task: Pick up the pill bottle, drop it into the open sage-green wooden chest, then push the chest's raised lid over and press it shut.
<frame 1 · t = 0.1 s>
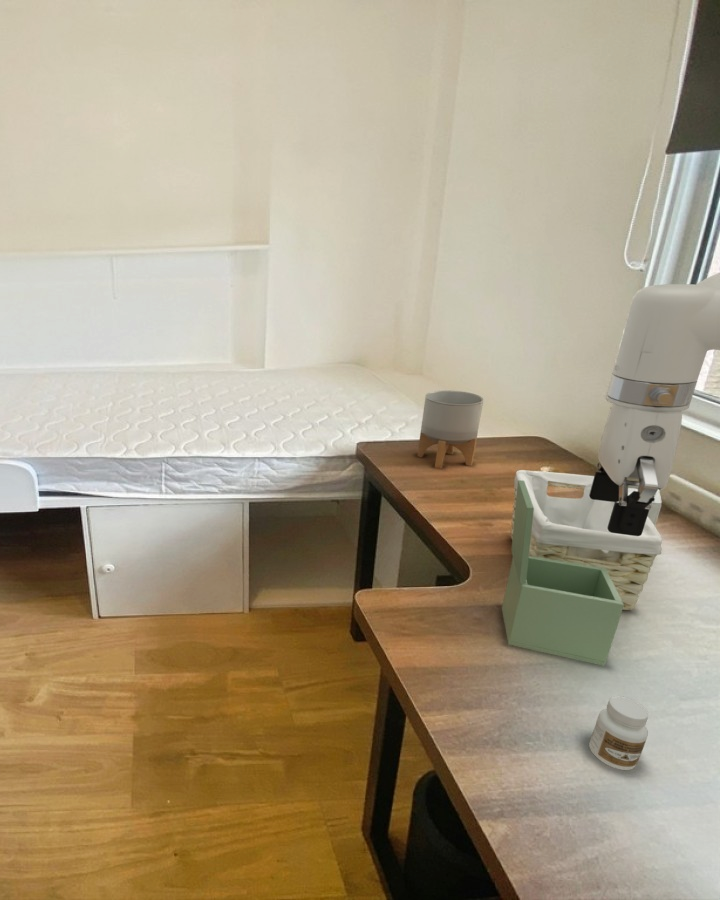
hand: (613, 515, 73), 24 cm above the table, tool pointing down, fingers open, 9 cm apart
basket: (562, 571, 101), on the table
chest: (549, 635, 86), on the table
lid: (521, 530, 83), point 17 cm above the table, hinge at 95.0°
pill bottle: (611, 756, 67), on the table
planter: (443, 461, 149), on the table
ink box: (626, 548, 106), on the table
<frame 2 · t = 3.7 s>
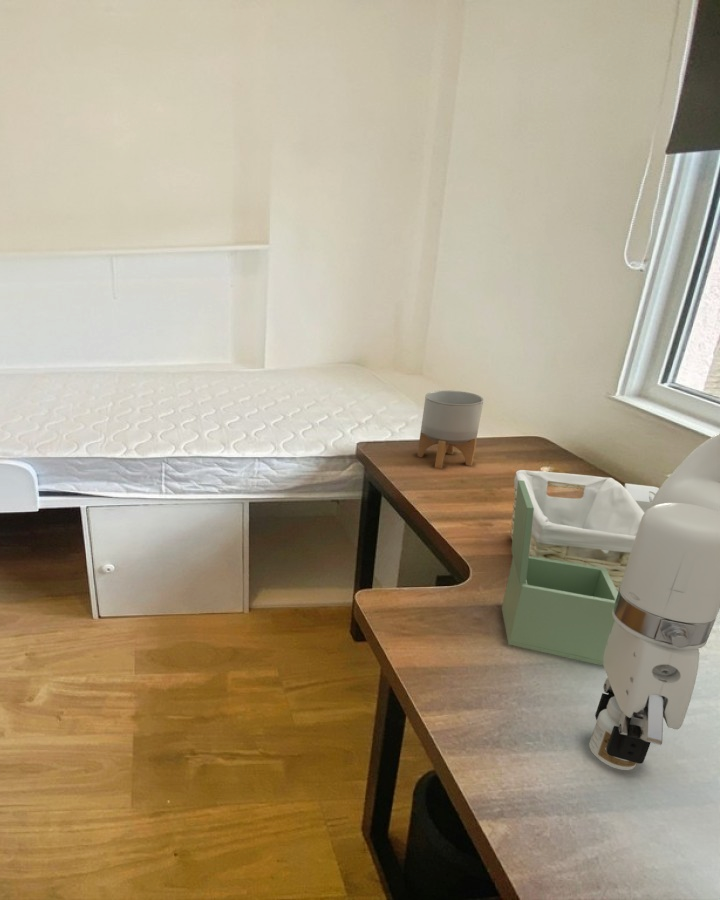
hand: (617, 738, 66), 3 cm above the table, tool pointing down, fingers closed on pill bottle, 4 cm apart
pill bottle: (611, 756, 67), on the table, touching gripper
everything else where it was.
when the fingers open (12 cm above the table, at t = 10.0 s): pill bottle drops 8 cm, resting on chest.
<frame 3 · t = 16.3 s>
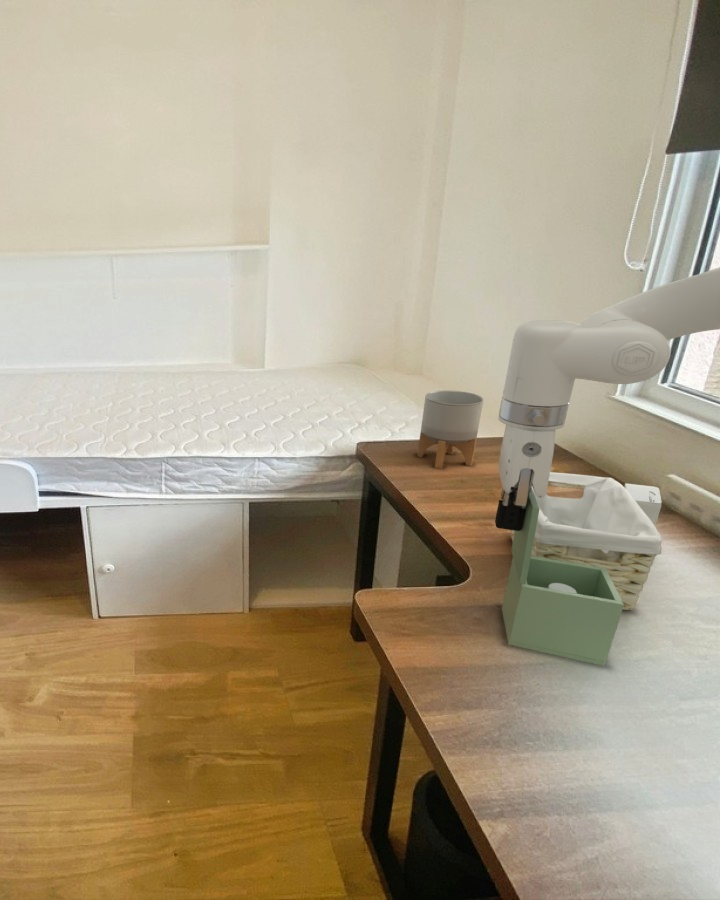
hand: (507, 526, 83), 18 cm above the table, tool pointing down, fingers closed
lid: (524, 531, 83), point 17 cm above the table, hinge at 92.0°, touching gripper
pill bottle: (551, 631, 86), point 1 cm above the table, touching chest
everything else where it was.
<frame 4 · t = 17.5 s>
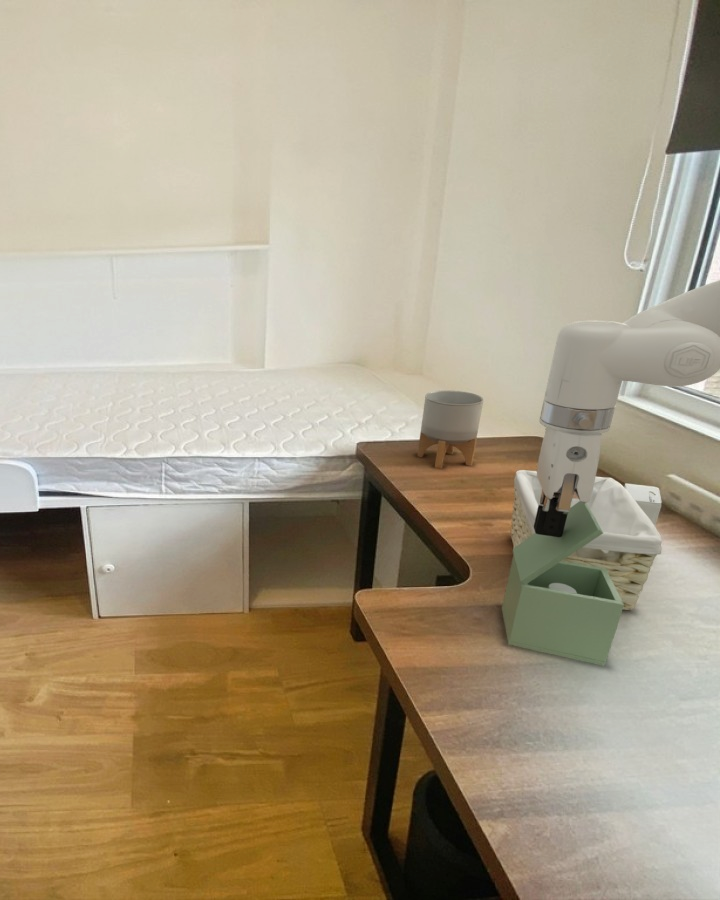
hand: (547, 532, 81), 18 cm above the table, tool pointing down, fingers closed
lid: (553, 541, 81), point 16 cm above the table, hinge at 55.5°
everything else where it was.
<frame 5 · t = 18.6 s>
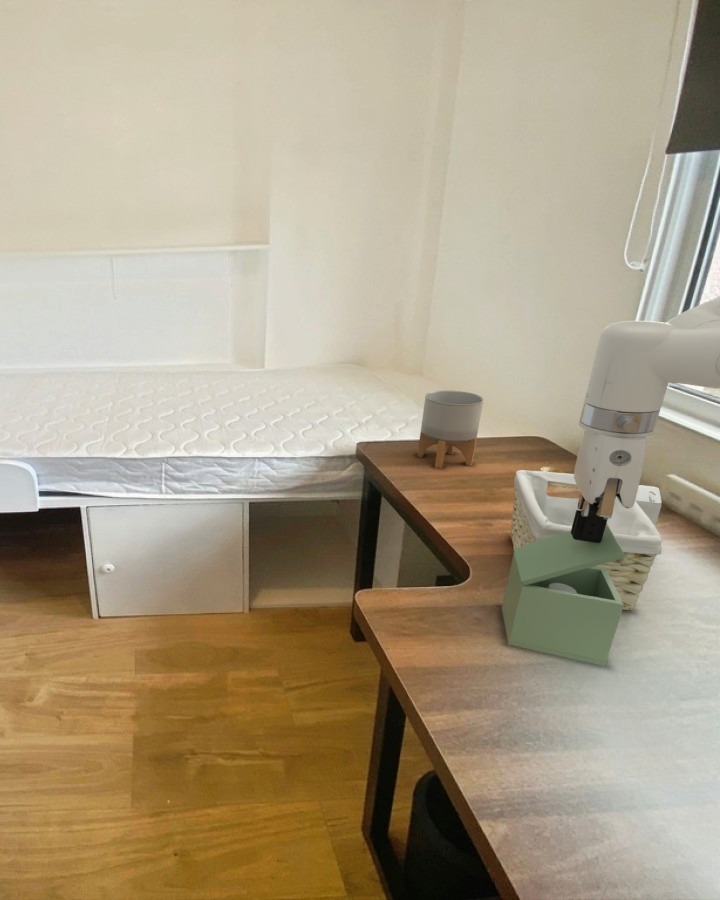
hand: (585, 538, 79), 18 cm above the table, tool pointing down, fingers closed
lid: (564, 552, 81), point 15 cm above the table, hinge at 35.5°
everything else where it was.
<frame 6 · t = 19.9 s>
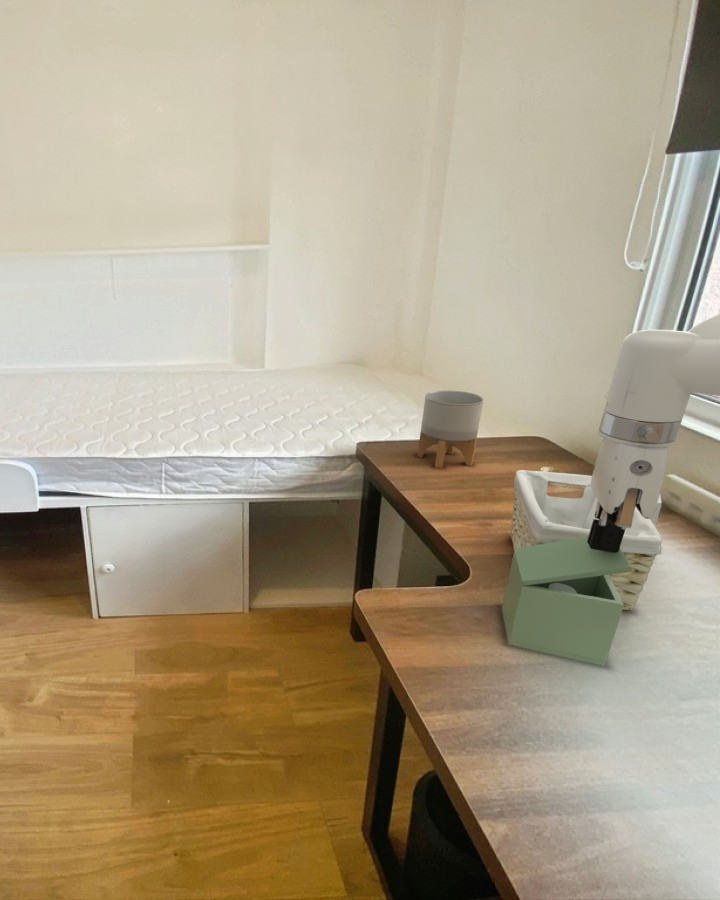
hand: (602, 547, 79), 17 cm above the table, tool pointing down, fingers closed
lid: (567, 559, 81), point 14 cm above the table, hinge at 25.0°, touching gripper
everything else where it was.
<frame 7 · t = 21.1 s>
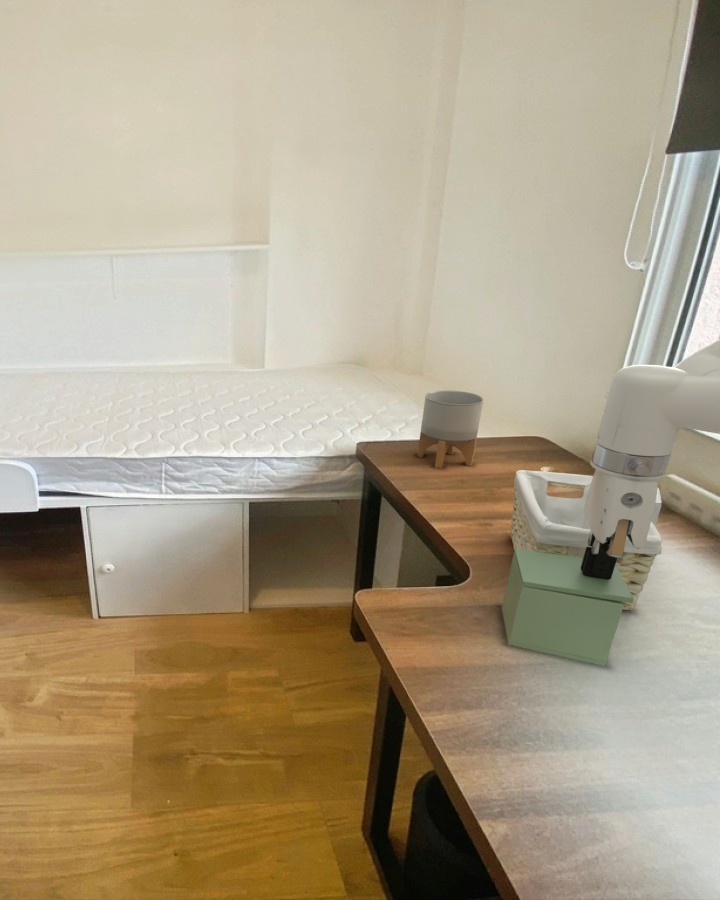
hand: (595, 574, 80), 12 cm above the table, tool pointing down, fingers closed
lid: (569, 573, 82), point 11 cm above the table, hinge at 1.9°
everything else where it was.
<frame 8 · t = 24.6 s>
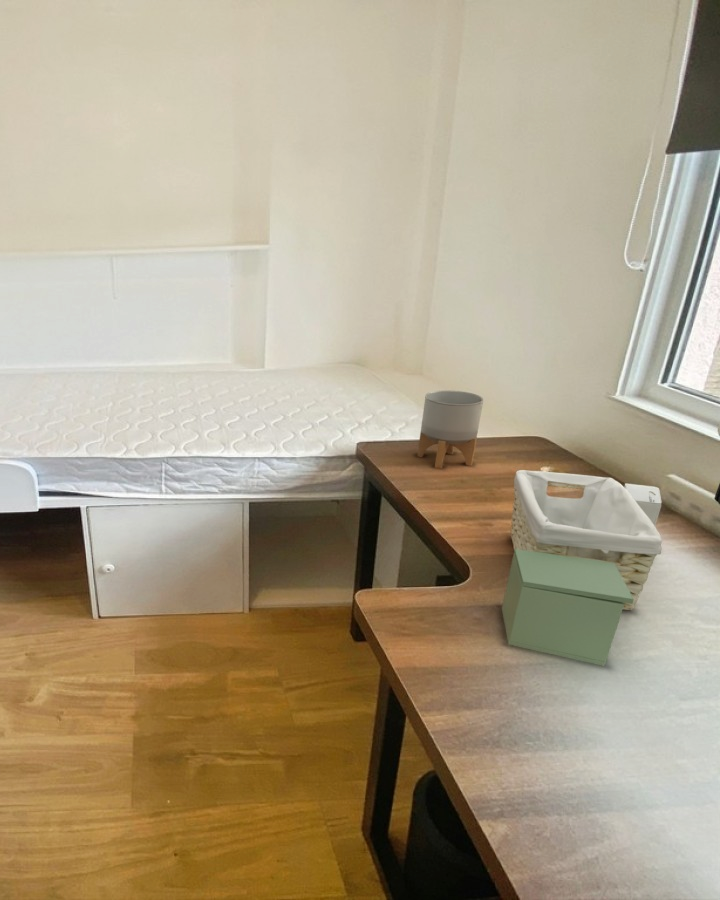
lid: (568, 574, 82), point 11 cm above the table, hinge at 1.4°
everything else where it was.
at the end: pill bottle inside the target area in the chest (0.3 cm from its centre), point 0.6 cm above the chest's base; lid at +1° (first picture: +95°) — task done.
